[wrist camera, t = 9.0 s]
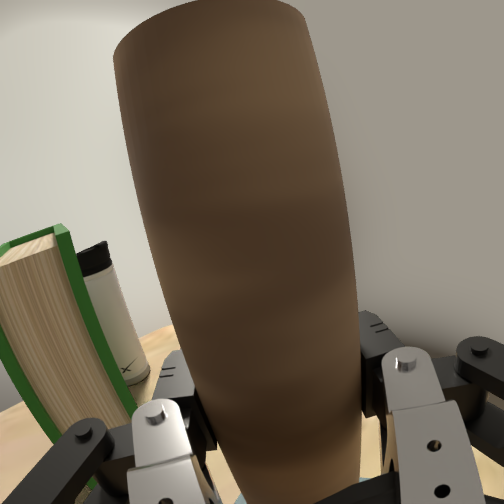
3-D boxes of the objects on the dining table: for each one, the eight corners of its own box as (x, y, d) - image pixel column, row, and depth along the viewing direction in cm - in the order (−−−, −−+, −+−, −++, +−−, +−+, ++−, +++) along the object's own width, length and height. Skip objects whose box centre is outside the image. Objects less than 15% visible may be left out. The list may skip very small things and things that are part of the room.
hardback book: (185, 486, 23) (69, 230, 16) (119, 517, 19) (-36, 270, 12) (127, 399, 37) (60, 223, 30) (81, 419, 33) (3, 243, 27)
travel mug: (141, 388, 39) (89, 249, 34) (105, 384, 40) (53, 256, 35) (159, 363, 45) (116, 235, 40) (124, 362, 46) (82, 242, 41)
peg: (254, 554, 10) (74, 73, 5) (288, 495, 14) (191, 85, 9) (338, 573, 8) (252, -34, 3) (364, 507, 12) (326, 42, 7)
